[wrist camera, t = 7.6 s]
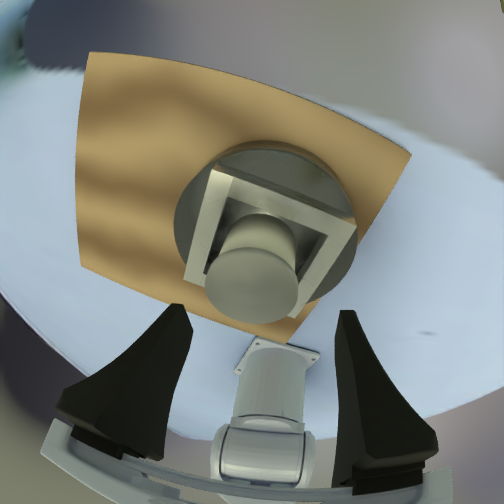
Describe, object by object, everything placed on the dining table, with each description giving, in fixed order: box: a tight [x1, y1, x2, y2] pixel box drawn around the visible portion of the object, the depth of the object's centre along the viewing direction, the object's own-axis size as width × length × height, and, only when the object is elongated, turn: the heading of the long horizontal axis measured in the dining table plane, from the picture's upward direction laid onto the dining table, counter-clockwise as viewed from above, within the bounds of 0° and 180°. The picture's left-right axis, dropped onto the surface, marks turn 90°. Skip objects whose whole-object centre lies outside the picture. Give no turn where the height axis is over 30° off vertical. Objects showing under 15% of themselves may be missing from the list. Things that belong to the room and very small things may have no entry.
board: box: [75, 52, 412, 344], centre depth 21 cm, size 22×24×1 cm
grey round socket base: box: [173, 140, 358, 318], centre depth 18 cm, size 12×12×4 cm
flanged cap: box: [205, 213, 298, 324], centre depth 16 cm, size 5×5×4 cm
